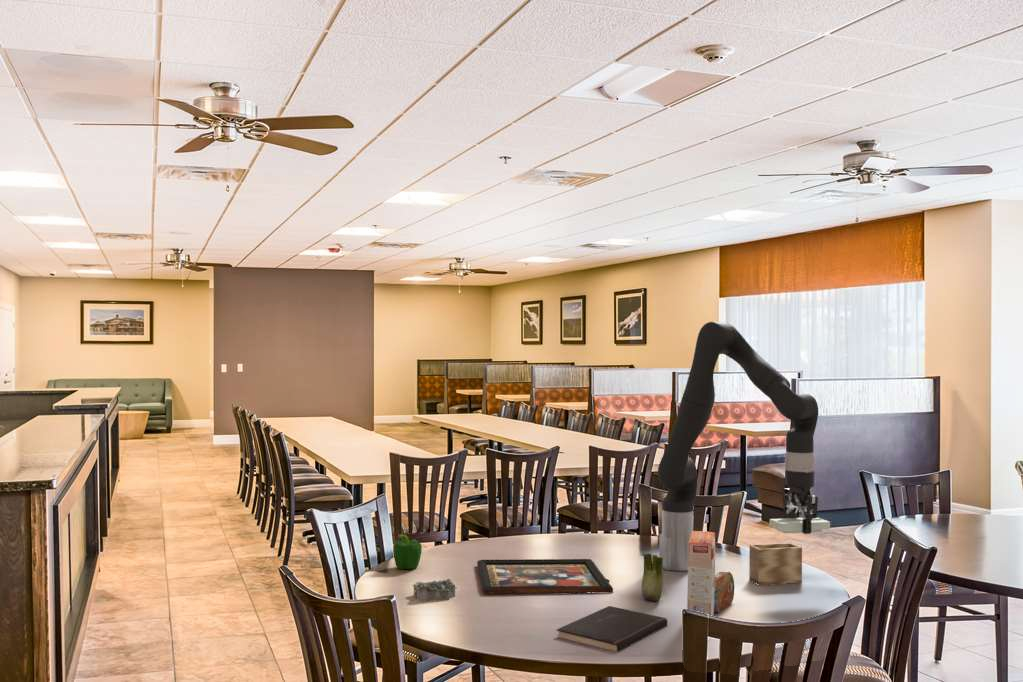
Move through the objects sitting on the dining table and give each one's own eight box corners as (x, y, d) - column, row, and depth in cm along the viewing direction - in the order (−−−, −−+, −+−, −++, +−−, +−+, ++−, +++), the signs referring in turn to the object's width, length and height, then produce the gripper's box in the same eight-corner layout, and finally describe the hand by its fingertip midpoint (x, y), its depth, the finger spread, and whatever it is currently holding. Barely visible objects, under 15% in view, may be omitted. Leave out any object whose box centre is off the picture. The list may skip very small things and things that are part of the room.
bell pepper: (424, 565, 264) (424, 531, 264) (418, 572, 256) (418, 537, 256) (396, 564, 265) (396, 530, 265) (390, 571, 257) (390, 536, 257)
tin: (714, 616, 216) (714, 582, 216) (702, 614, 218) (702, 580, 218) (735, 601, 228) (735, 569, 228) (723, 599, 230) (723, 567, 230)
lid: (782, 534, 231) (782, 522, 231) (769, 529, 238) (769, 517, 238) (830, 532, 234) (830, 520, 234) (816, 527, 241) (816, 516, 241)
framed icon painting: (486, 601, 229) (486, 590, 229) (465, 568, 263) (465, 559, 263) (625, 595, 236) (625, 584, 236) (587, 564, 271) (587, 555, 271)
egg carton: (417, 602, 226) (417, 586, 226) (411, 594, 234) (411, 579, 234) (457, 599, 230) (457, 583, 230) (450, 591, 237) (450, 576, 237)
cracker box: (712, 634, 202) (713, 543, 202) (686, 632, 204) (686, 541, 204) (715, 616, 215) (716, 531, 216) (690, 614, 217) (691, 529, 217)
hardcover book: (556, 639, 200) (556, 629, 200) (609, 615, 218) (609, 605, 218) (617, 654, 190) (617, 644, 190) (667, 627, 208) (667, 618, 208)
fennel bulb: (665, 602, 227) (665, 555, 227) (648, 603, 226) (648, 557, 226) (654, 596, 233) (655, 550, 233) (638, 597, 231) (638, 552, 231)
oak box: (759, 585, 244) (759, 549, 244) (749, 580, 249) (749, 544, 249) (801, 583, 247) (802, 547, 247) (790, 577, 252) (791, 542, 252)
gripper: (773, 465, 242) (773, 526, 242) (801, 472, 228) (801, 537, 228) (797, 464, 244) (797, 525, 244) (827, 472, 230) (827, 535, 230)
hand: (799, 530), depth 236 cm, fingers closed on lid, 6 cm apart
